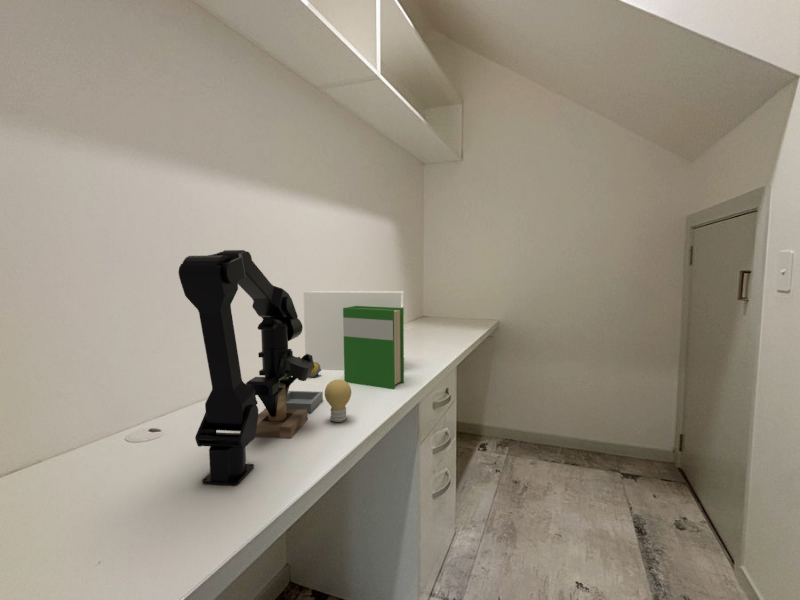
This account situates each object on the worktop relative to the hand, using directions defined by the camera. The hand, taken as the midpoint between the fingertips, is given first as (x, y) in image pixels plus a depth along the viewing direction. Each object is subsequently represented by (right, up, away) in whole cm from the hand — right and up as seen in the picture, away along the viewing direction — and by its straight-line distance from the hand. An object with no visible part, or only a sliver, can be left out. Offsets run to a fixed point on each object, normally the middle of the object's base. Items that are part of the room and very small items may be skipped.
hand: (277, 412), depth 92 cm
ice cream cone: (-1, 0, +42) cm, 42 cm away
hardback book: (+20, 0, +35) cm, 40 cm away
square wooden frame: (0, -4, 0) cm, 4 cm away
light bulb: (+13, -3, +4) cm, 15 cm away
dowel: (0, -4, 0) cm, 4 cm away
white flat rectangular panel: (+12, +1, +53) cm, 54 cm away
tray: (+2, -2, +14) cm, 14 cm away
